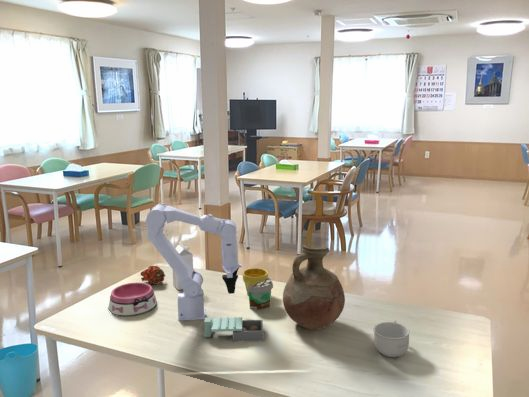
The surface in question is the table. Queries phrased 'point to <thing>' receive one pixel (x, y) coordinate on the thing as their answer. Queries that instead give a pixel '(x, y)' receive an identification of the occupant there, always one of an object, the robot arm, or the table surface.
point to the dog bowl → (132, 299)
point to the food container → (260, 294)
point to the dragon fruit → (153, 275)
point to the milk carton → (187, 258)
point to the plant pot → (254, 276)
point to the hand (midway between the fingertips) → (232, 288)
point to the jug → (313, 291)
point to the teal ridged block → (222, 325)
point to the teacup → (391, 338)
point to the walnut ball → (253, 328)
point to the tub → (249, 334)
